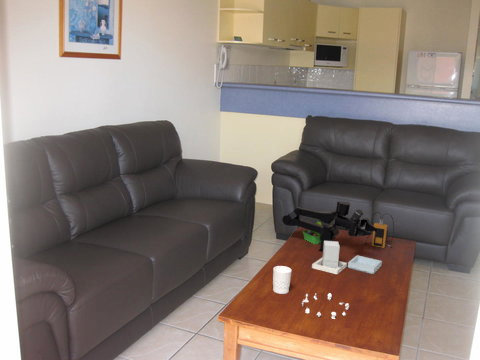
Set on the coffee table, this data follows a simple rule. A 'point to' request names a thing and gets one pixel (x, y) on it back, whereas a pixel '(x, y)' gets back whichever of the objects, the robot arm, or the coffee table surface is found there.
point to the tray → (364, 264)
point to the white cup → (281, 279)
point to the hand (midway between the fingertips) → (374, 232)
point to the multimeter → (380, 234)
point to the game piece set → (328, 299)
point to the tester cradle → (331, 270)
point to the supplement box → (330, 254)
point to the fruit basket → (312, 236)
